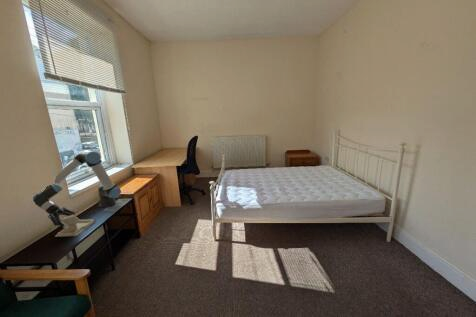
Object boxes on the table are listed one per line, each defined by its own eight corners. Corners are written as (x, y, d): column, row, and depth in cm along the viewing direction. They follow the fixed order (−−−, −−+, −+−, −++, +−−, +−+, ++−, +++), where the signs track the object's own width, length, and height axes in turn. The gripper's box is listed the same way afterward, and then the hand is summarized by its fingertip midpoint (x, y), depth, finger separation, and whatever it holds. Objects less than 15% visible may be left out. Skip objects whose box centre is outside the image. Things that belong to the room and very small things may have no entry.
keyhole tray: (76, 222, 180) (75, 220, 180) (95, 221, 180) (94, 219, 180) (54, 236, 158) (54, 233, 158) (76, 235, 159) (75, 233, 158)
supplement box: (77, 228, 169) (74, 214, 166) (77, 230, 165) (74, 216, 163) (64, 232, 163) (61, 217, 161) (64, 234, 160) (61, 219, 157)
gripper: (59, 204, 172) (81, 220, 175) (33, 217, 149) (59, 235, 152) (64, 198, 171) (86, 214, 174) (39, 210, 148) (64, 229, 151)
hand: (73, 224), depth 163 cm, fingers open, 11 cm apart
